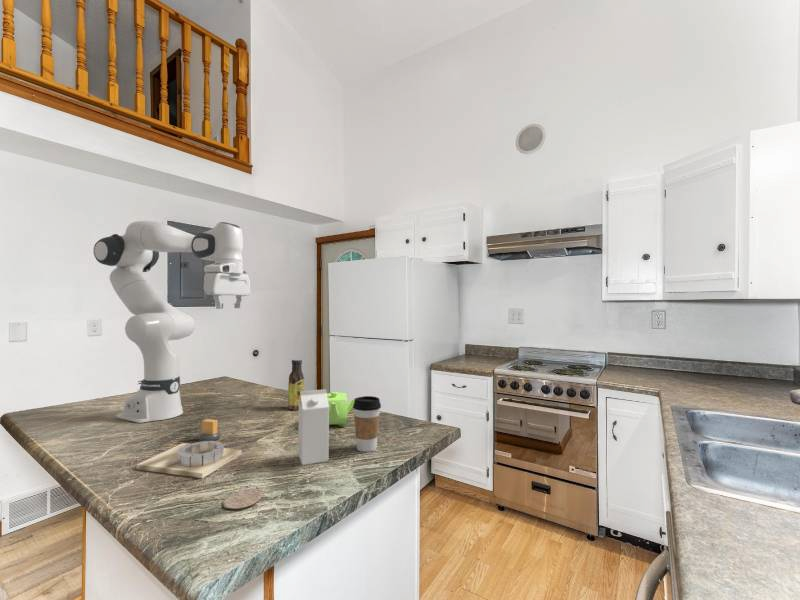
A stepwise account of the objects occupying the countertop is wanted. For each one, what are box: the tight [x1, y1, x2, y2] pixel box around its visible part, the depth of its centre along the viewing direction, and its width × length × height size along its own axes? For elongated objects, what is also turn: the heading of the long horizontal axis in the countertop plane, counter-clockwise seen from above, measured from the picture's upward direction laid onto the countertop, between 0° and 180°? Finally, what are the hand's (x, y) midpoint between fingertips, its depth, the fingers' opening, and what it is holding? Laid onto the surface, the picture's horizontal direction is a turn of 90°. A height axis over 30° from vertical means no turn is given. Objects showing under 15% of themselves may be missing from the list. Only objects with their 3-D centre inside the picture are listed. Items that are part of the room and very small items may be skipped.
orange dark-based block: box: [198, 418, 221, 442], centre depth 118 cm, size 6×6×6 cm
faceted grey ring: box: [177, 440, 225, 467], centre depth 101 cm, size 11×11×3 cm
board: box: [136, 442, 242, 479], centre depth 102 cm, size 20×15×1 cm
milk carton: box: [297, 389, 330, 466], centre depth 104 cm, size 7×7×19 cm
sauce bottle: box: [287, 358, 305, 411], centre depth 153 cm, size 7×6×20 cm
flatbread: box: [222, 488, 263, 510], centre depth 82 cm, size 8×8×1 cm
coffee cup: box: [352, 395, 382, 453], centre depth 112 cm, size 8×8×15 cm
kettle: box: [327, 391, 355, 428], centre depth 134 cm, size 15×14×11 cm
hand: (228, 308), depth 131 cm, fingers open, 8 cm apart
